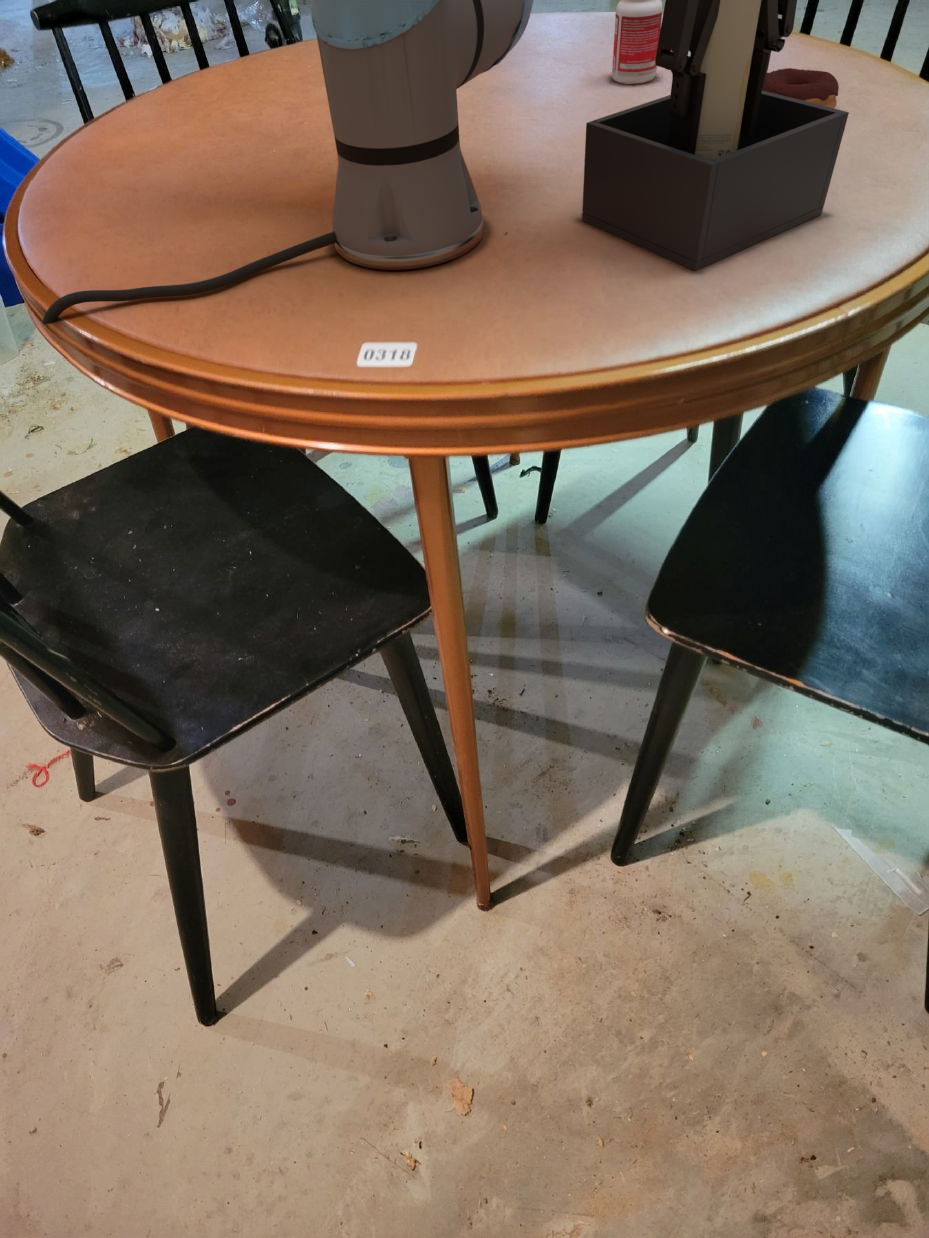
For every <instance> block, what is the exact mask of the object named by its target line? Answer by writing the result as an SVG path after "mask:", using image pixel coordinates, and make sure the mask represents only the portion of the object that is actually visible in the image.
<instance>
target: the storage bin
mask: <svg viewBox="0 0 929 1238" xmlns="http://www.w3.org/2000/svg"><path fill="white" fill-rule="evenodd" d="M670 95H671V94H668V95H666V96H662V97H660V98H657V99H654V100H650V101H648V102H644V103H641V104H638V105H635V106H632V107H630V108H627V109H623V110H620V111H618V112H615V113H612V114H607V115H606V116H603V117H599V118H596V119H593V120H590V121H588V122H586V123H585V144H584V145H585V146H584V165H583V166H584V167H583V185H582V186H583V187H582V210H581V221H582V222H585V223H587V224H589V225H591V226H593V227H596V228H597V229H600V230H603V231H605V232H607V233H609V234H611V235H614V236H616V237H618V238H621V239H623V240H625V241H627V242H630V243H632V244H634V245H636V246H639V247H641V248H642V249H645V250H647V251H649V252H652V253H653V254H656V255H659V256H660V257H662V258H663V257H664V258H665V259H668V260H669V261H672V262H674V263H676V264H678V265H681V266H683V267H686V268H688V269H690V270H693V271H695V272H696V271H698V270H700V269H703V268H704V267H707V266H708V265H712V264H714V263H715V262H718V261H720V260H722V259H725V258H728V257H730V256H731V255H734V254H736V253H739V252H741V251H743V250H746V249H747V248H749V247H751V246H754V245H756V244H758V243H760V242H764V241H766V240H767V239H769V238H772V237H774V236H776V235H779V234H781V233H783V232H785V231H787V230H790V229H792V228H794V227H796V226H799V225H801V224H803V223H806V222H808V221H810V220H812V219H815V218H817V217H819V216H821V215H822V214H823V211H824V206H825V203H826V200H827V197H828V193H829V192H828V191H829V189H830V185H831V181H832V178H833V173H834V170H835V167H836V162H837V158H838V155H839V152H840V147H841V144H842V140H843V137H844V133H845V129H846V125H847V122H848V118H849V113H850V112H849V111H845V110H842V109H838V108H830V107H826V106H822V105H818V104H814V103H810V102H806V101H802V100H798V99H794V98H790V97H786V96H782V95H778V94H774V93H770V92H766V91H762V93H761V98H760V103H759V108H758V114H757V119H756V124H755V129H754V135H753V136H752V137H749V138H746V137H743V136H740V135H739V140H738V147H737V151H735V152H732V153H729V154H727V155H724V156H721V157H719V158H716V159H714V160H712V161H711V160H708V159H705V158H702V157H699V156H696V155H693V154H690V153H687V152H684V151H681V150H678V149H675V148H672V147H669V146H668V140H669V132H670V123H671V116H670V114H669V104H670V97H671V96H670Z"/></svg>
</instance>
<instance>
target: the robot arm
mask: <svg viewBox="0 0 929 1238" xmlns="http://www.w3.org/2000/svg"><path fill="white" fill-rule="evenodd" d="M310 1H311V7H310V9H311V11H310V12H311V13H310V16H311V23H312V26H313V28H314V32H315V35H316V40H317V45H318V51H319V58H320V64H321V68H322V73H323V79H324V85H325V86H324V87H325V92H326V98H327V103H328V109H329V113H330V119H331V126H332V131H333V135H334V142H335V148H336V154H337V163H338V164H337V170H336V171H337V172H336V173H337V174H336V182H335V191H334V199H333V210H332V218H331V228H332V230H331V232H328V233H326V234H323V235H322V234H321V235H320V236H317V237H314V238H312V239H309V240H307V241H306V240H305V241H304V242H301V243H298V244H295V245H292V246H291V247H288V248H285V249H283V250H280V251H278V252H275V253H272V254H270V255H267V256H264V257H262V258H260V259H257V260H255V261H252V262H249V263H247V264H246V265H243V266H241V267H238V268H237V269H234V270H232V271H229V272H227V273H226V272H225V273H224V274H222V275H218V276H215V277H212V278H208V279H204V280H200V281H196V282H195V281H194V282H190V283H183V284H182V283H181V284H172V285H171V284H170V285H154V286H153V285H152V286H142V287H138V288H137V287H136V288H129V289H127V288H126V289H96V290H95V289H93V290H80V291H75V292H71V293H68V294H65V295H63V296H60V297H59V298H58V299H57V300H55V301H54V302H52V304H51V305H50V306H49V307H48V308H47V310H46V312H45V314H44V316H43V318H42V323H41V324H43V325H50V324H53V323H54V322H56V321H57V320H58V318H59V317H60V315H62V313H64V312H65V311H66V310H67V309H69V308H71V307H73V306H76V305H80V304H85V303H96V302H99V303H100V302H107V303H108V302H131V301H138V300H146V299H154V298H156V299H157V298H172V297H184V296H193V295H199V294H203V293H207V292H211V291H212V292H213V291H216V290H219V289H222V288H224V287H227V286H230V285H232V284H235V283H237V282H239V281H242V280H244V279H246V278H248V277H251V276H253V275H255V274H257V273H260V272H262V271H265V270H268V269H270V268H273V267H276V266H278V265H280V264H283V263H285V262H288V261H291V260H293V259H296V258H298V257H300V256H301V257H302V256H303V255H306V254H309V253H311V252H314V251H317V250H320V249H322V248H325V247H328V246H330V245H333V244H334V249H335V250H336V252H337V253H338V254H339V255H340V256H341V257H342V258H343V259H344V260H345V261H348V262H350V263H353V264H355V265H358V266H360V267H361V266H362V267H365V268H370V269H377V270H409V269H410V270H411V269H417V268H418V269H420V268H426V267H430V266H431V267H432V266H434V265H435V266H436V265H438V264H442V263H445V262H448V261H451V260H454V259H456V258H458V257H460V256H462V255H464V254H466V253H467V252H468V251H470V250H472V249H473V248H474V247H475V246H477V244H479V242H480V241H481V240H482V237H483V234H484V219H483V218H484V217H483V213H482V206H481V203H480V200H479V198H478V195H477V194H478V193H477V192H476V189H475V186H474V183H473V180H472V178H471V175H470V173H469V169H468V167H467V166H468V165H467V164H466V161H465V158H464V155H463V152H462V150H461V149H462V148H461V141H460V126H459V125H460V124H459V110H458V109H459V108H458V107H459V106H458V95H457V93H458V92H457V90H458V89H459V88H461V87H462V86H464V85H466V84H467V83H469V82H470V81H472V80H473V79H475V78H476V77H478V76H479V75H482V74H483V73H487V72H489V71H490V70H491V69H492V68H494V67H496V66H497V65H499V64H500V63H501V62H502V61H503V60H504V59H505V58H506V57H507V55H508V54H509V53H510V52H511V51H512V50H513V49H514V48H515V47H516V46H517V44H518V43H519V42H520V40H521V38H522V37H523V35H524V33H525V30H526V29H527V27H528V24H529V20H530V17H531V13H532V10H533V6H534V0H310ZM797 5H798V0H761V5H760V11H759V16H758V22H757V28H756V34H755V40H754V46H753V53H752V59H751V65H750V71H749V77H748V83H747V89H746V96H745V102H744V109H743V115H742V122H741V128H740V134H739V135H740V136H743V137H746V138H749V137H752V136H753V135H754V129H755V124H756V119H757V114H758V108H759V103H760V98H761V93H762V90H763V88H764V85H765V82H766V76H767V73H768V70H769V66H770V60H771V56H772V52H775V53H780V52H781V51H782V50H783V49H784V47H785V44H786V38H789V37H790V36H791V35H792V33H793V30H794V26H795V25H794V24H795V20H796V19H795V18H796V12H797ZM719 6H720V0H665V2H664V7H663V11H662V20H661V30H660V35H659V41H658V47H657V53H656V59H655V62H656V65H657V67H659V68H662V69H665V70H667V71H670V73H671V75H672V78H671V87H670V94H669V95H670V96H671V97H670V104H669V114H670V116H671V123H670V132H669V140H668V146H669V147H672V148H675V149H678V150H681V151H684V152H687V153H690V154H693V155H695V150H696V143H697V136H698V129H699V122H700V115H701V108H702V101H703V94H704V87H705V80H706V74H705V73H701V72H699V70H700V67H701V64H702V61H703V58H704V55H705V52H706V49H707V46H708V44H709V41H710V38H711V35H712V32H713V29H714V26H715V23H716V20H717V17H718V13H719ZM779 16H781V18H779ZM784 38H785V39H784ZM689 53H690V54H689Z"/></svg>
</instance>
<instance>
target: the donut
mask: <svg viewBox="0 0 929 1238" xmlns="http://www.w3.org/2000/svg"><path fill="white" fill-rule="evenodd" d="M839 89H840V88H839V82H838V79H837V78H836V76H835V75H834V74H832V73H830V72H829V71H824V70H817V69H815V70H813V69H803V68H801V69H800V68H793V67H786V68H779V69H776V70H772V71H770V72H767V76H766V82H765V85H764V88H763V90H762V91H766V92H770V93H774V94H778V95H782V96H786V97H790V98H794V99H798V100H802V101H806V102H810V103H814V104H818V105H822V106H826V107H830V108H834V109H836V106H837V105H838V103H837V97H838V96H839Z"/></svg>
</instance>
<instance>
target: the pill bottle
mask: <svg viewBox="0 0 929 1238" xmlns="http://www.w3.org/2000/svg"><path fill="white" fill-rule="evenodd" d="M663 9H664V7H663V2H662V0H620V1H619V2H618V4H617V5H616V8H615V19H614V20H615V21H614V34H613V50H612V68H611V77H612V79H613V80H614V81H615V82H617V83H620V84H625V85H635V84H643V83H646V82H650V81H652V80H653V79H654V78H655V77H656V75H657V69H658V66H657V65H656V62H655V59H656V53H657V47H658V41H659V35H660V30H661V24H662V18H663Z"/></svg>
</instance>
